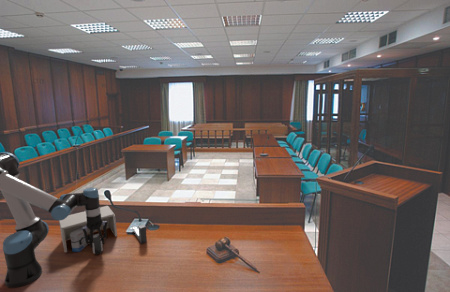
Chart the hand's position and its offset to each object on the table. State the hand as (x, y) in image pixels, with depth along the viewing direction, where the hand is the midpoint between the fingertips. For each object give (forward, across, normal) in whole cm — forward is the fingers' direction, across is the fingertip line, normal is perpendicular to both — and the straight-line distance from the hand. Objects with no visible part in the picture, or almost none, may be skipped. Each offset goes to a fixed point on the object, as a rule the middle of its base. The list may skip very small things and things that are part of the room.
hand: (97, 250), depth 153 cm
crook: (+1, +4, -9) cm, 10 cm away
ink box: (+2, +7, -14) cm, 16 cm away
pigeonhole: (+2, 0, -22) cm, 22 cm away
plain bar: (+2, -26, -3) cm, 26 cm away
